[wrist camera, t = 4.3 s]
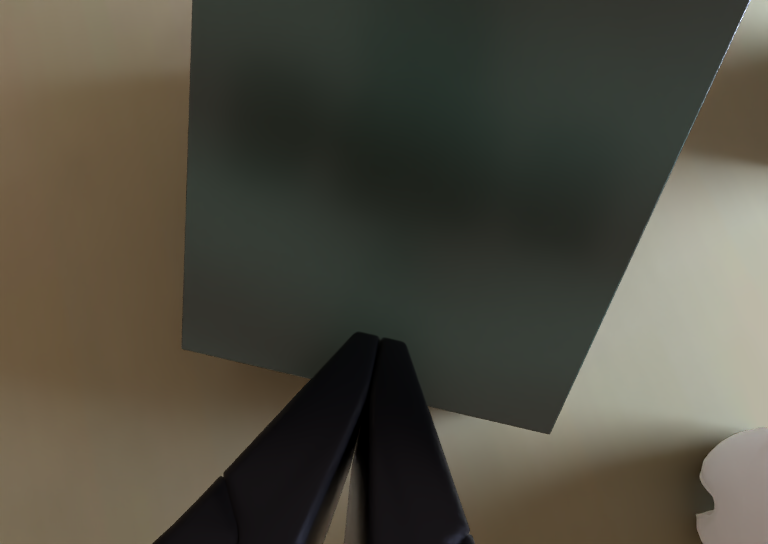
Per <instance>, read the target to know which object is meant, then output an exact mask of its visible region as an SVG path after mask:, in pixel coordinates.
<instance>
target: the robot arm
mask: <svg viewBox="0 0 768 544" xmlns="http://www.w3.org/2000/svg"><path fill="white" fill-rule="evenodd" d="M379 342H380V343H379ZM355 447H356V448H355ZM354 451H355V452H354ZM353 455H354V458H353ZM352 459H353V463H352ZM351 463H352V469H351V477H350V486H349V496H348V507H347V517H346V527H345V538H344V544H475V542H474V539H473V537H472V535H470V534H469V532H470V528H469V526H468V523H467V520H466V517H465V514H464V511H463V508H462V505H461V502H460V499H459V496H458V493H457V491H456V488H455V485H454V482H453V479H452V476H451V473H450V470H449V467H448V464H447V461H446V458H445V455H444V453H443V450H442V447H441V444H440V441H439V438H438V435H437V432H436V429H435V426H434V423H433V420H432V418H431V415H430V412H429V409H428V406H427V403H426V400H425V397H424V394H423V391H422V388H421V385H420V383H419V380H418V377H417V374H416V371H415V368H414V365H413V362H412V359H411V356H410V353H409V350H408V347H407V345H406V343H404V342H403V341H399V340H395V339H391V338H386V337H383V338H382V339H381V340H380V338H379V337H378V336H377V335H373V334H369V333H365V332H360V331H357V332H355V333H354V334H353V335H352V336H351V337H350V338H349V339H348V340H347V341H346V342H345V343H344V344H343V345H342V346H341V347H340V349H339V350H338V351H337V352H336V353H335V354H334V355H333V356H332V357H331V358H330V359H329V360H328V361H327V362H326V363H325V365H324V366H323V367H322V368H321V369H320V370H319V371H318V372H317V373H316V374H315V375H314V376H313V377H312V378H311V380H310V381H309V382H308V383H307V384H306V385H305V386H304V387H303V388H302V389H301V390H300V391H299V392H298V393H297V394H296V396H295V397H294V398H293V399H292V400H291V401H290V402H289V403H288V404H287V405H286V406H285V407H284V408H283V409H282V411H281V412H280V413H279V414H278V415H277V416H276V417H275V418H274V419H273V420H272V421H271V422H270V423H269V424H268V426H267V427H266V428H265V429H264V430H263V431H262V432H261V433H260V434H259V435H258V436H257V437H256V438H255V439H254V440H253V442H252V443H251V444H250V445H249V446H248V447H247V448H246V449H245V450H244V451H243V452H242V453H241V454H240V455H239V457H238V458H237V459H236V460H235V461H234V462H233V463H232V464H231V465H230V466H229V467H228V468H227V469H226V470H225V471H224V473H223V477H222V476H220V477H219V478H218V479H217V480H216V481H215V482H214V483H213V484H212V485H211V486H210V487H209V488H208V489H207V490H206V491H205V492H204V494H203V495H202V496H201V497H200V498H199V499H198V500H197V501H196V502H195V503H194V504H193V505H192V506H191V507H190V508H189V509H188V510H187V511H186V512H185V513H184V514H183V515H182V516H181V517H180V518H179V519H178V520H177V521H176V522H175V523H174V524H173V525H172V526H171V527H170V528H169V529H168V530H167V531H165V532H164V533H163V534H162V535H161V536H160V537H159V538H158V539H157V540H156V541H154V542H153V543H152V544H323V543H324V540H325V538H326V535H327V532H328V529H329V526H330V524H331V521H332V518H333V515H334V512H335V510H336V507H337V504H338V501H339V498H340V496H341V493H342V490H343V487H344V484H345V482H346V479H347V476H348V473H349V469H350V466H351Z"/></svg>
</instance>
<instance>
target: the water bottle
mask: <svg viewBox="0 0 768 544" xmlns="http://www.w3.org/2000/svg"><path fill="white" fill-rule="evenodd" d="M699 475H700V480H701V483H702V484H703V486H704V487H705V489H706V490H707V491H708V492H709V493H710V494H711V495H712V496H713V499H714V504H715V507H714V510H710V511H707V512H704V513H701V514H696V517H697V531H698V533H699V536H700V539H701V541H702V543H703V544H768V427H761V428H756V429H751V430H745V431H742V432H739V433H736V434H734V435H732V436H730V437H728V438H726V439H725V440H723V441H722V442H721V443H719V444H718V445H717V446H716V447H715V448H714V449H713V450H711V451H710V453H709V454H708V455H707V456H706V458H705V459H704V461H703V465H702V469H701V472H700V474H699Z"/></svg>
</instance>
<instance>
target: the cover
mask: <svg viewBox="0 0 768 544" xmlns="http://www.w3.org/2000/svg"><path fill="white" fill-rule="evenodd" d="M750 1H751V0H192V31H191V63H190V95H189V127H188V159H187V191H186V223H185V255H184V287H183V318H182V349H184V350H189V351H193V352H197V353H202V354H206V355H210V356H214V357H219V358H223V359H227V360H232V361H236V362H240V363H245V364H249V365H253V366H257V367H262V368H266V369H270V370H275V371H279V372H283V373H287V374H292V375H296V376H300V377H305V378H309V379H311V378H312V377H313V376H314V375H315V374H316V373H317V372H318V371H319V370H320V369H321V368H322V367H323V366H324V365H325V363H326V362H327V361H328V360H329V359H330V358H331V357H332V356H333V355H334V354H335V353H336V352H337V351H338V350H339V349H340V347H341V346H342V345H343V344H344V343H345V342H346V341H347V340H348V339H349V338H350V337H351V336H352V335H353V334H354V333H355V332H357V331H360V332H365V333H369V334H373V335H377V336H378V337H379V338H380V340H381V339H382V338H383V337H386V338H391V339H395V340H399V341H403V342H404V343H406V345H407V347H408V350H409V353H410V356H411V359H412V362H413V365H414V368H415V371H416V374H417V377H418V380H419V383H420V385H421V388H422V391H423V394H424V397H425V400H426V403H427V406H429V407H433V408H438V409H442V410H446V411H451V412H455V413H459V414H464V415H468V416H472V417H476V418H481V419H485V420H489V421H494V422H498V423H502V424H506V425H511V426H515V427H519V428H524V429H528V430H532V431H537V432H541V433H545V434H550V433H551V431H552V429H553V427H554V424H555V422H556V420H557V418H558V416H559V414H560V411H561V409H562V407H563V405H564V403H565V401H566V398H567V396H568V394H569V392H570V390H571V388H572V385H573V383H574V381H575V379H576V377H577V375H578V372H579V370H580V368H581V366H582V364H583V362H584V359H585V357H586V355H587V353H588V351H589V349H590V347H591V344H592V342H593V340H594V338H595V336H596V334H597V331H598V329H599V327H600V325H601V323H602V321H603V318H604V316H605V314H606V312H607V310H608V308H609V305H610V303H611V301H612V299H613V297H614V295H615V292H616V290H617V288H618V286H619V284H620V282H621V280H622V277H623V275H624V273H625V271H626V269H627V267H628V264H629V262H630V260H631V258H632V256H633V254H634V251H635V249H636V247H637V245H638V243H639V241H640V238H641V236H642V234H643V232H644V230H645V228H646V225H647V223H648V221H649V219H650V217H651V215H652V212H653V210H654V208H655V206H656V204H657V202H658V200H659V197H660V195H661V193H662V191H663V189H664V187H665V184H666V182H667V180H668V178H669V176H670V174H671V171H672V169H673V167H674V165H675V163H676V161H677V158H678V156H679V154H680V152H681V150H682V148H683V145H684V143H685V141H686V139H687V137H688V135H689V133H690V130H691V128H692V126H693V124H694V122H695V120H696V117H697V115H698V113H699V111H700V109H701V107H702V104H703V102H704V100H705V98H706V96H707V94H708V91H709V89H710V87H711V85H712V83H713V81H714V78H715V76H716V74H717V72H718V70H719V68H720V65H721V63H722V61H723V59H724V57H725V55H726V53H727V50H728V48H729V46H730V44H731V42H732V40H733V37H734V35H735V33H736V31H737V29H738V27H739V24H740V22H741V20H742V18H743V16H744V14H745V11H746V9H747V7H748V5H749V3H750ZM379 343H380V342H379Z"/></svg>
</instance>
